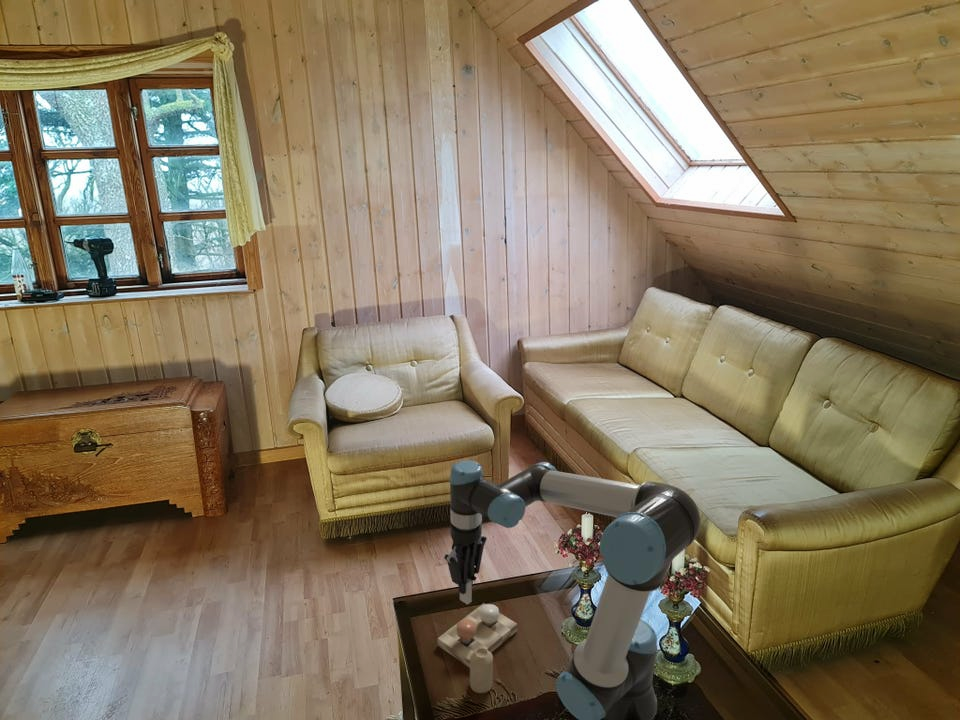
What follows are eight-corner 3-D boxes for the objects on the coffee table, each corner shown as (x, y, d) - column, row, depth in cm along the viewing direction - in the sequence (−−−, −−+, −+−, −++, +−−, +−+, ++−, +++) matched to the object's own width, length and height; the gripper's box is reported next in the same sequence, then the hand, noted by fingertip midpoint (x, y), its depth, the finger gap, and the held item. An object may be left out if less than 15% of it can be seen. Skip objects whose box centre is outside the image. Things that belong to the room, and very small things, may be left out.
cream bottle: (490, 695, 171) (490, 663, 167) (467, 691, 172) (467, 659, 168) (494, 677, 176) (494, 646, 172) (472, 674, 177) (472, 642, 173)
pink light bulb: (480, 640, 185) (480, 625, 183) (466, 651, 181) (466, 636, 179) (465, 631, 188) (465, 616, 186) (452, 641, 184) (452, 626, 183)
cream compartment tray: (517, 630, 191) (517, 623, 190) (471, 669, 178) (471, 661, 178) (483, 610, 198) (483, 603, 198) (437, 645, 186) (437, 638, 185)
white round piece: (502, 624, 191) (502, 610, 189) (490, 634, 188) (490, 619, 186) (488, 615, 194) (488, 601, 193) (476, 625, 191) (476, 611, 189)
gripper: (472, 504, 178) (472, 581, 187) (435, 527, 169) (436, 606, 178) (495, 516, 173) (493, 594, 182) (458, 540, 164) (458, 621, 173)
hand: (465, 600), depth 180 cm, fingers closed
